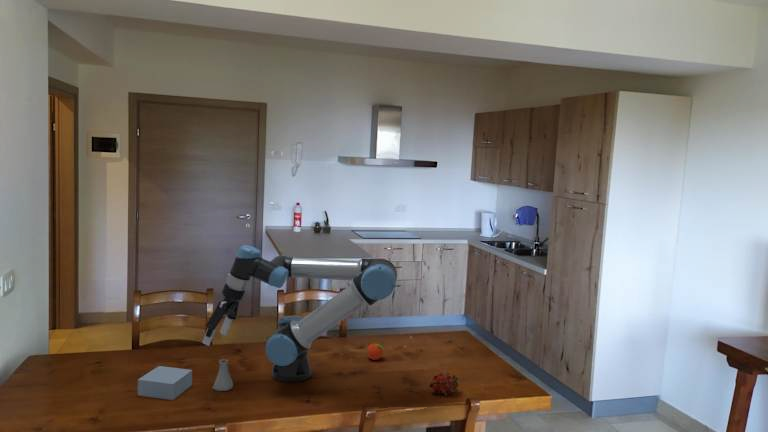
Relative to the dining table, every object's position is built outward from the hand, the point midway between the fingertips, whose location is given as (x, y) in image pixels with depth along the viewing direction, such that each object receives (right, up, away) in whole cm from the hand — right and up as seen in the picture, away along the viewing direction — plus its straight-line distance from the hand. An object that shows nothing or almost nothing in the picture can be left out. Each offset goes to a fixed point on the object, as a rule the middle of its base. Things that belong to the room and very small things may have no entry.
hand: (214, 338), depth 201 cm
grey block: (-15, -17, -6) cm, 24 cm away
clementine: (+58, -17, +35) cm, 70 cm away
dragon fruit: (+84, -22, +4) cm, 87 cm away
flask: (+3, -17, -2) cm, 18 cm away
